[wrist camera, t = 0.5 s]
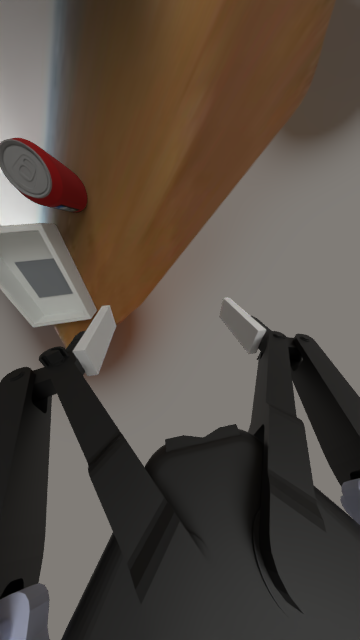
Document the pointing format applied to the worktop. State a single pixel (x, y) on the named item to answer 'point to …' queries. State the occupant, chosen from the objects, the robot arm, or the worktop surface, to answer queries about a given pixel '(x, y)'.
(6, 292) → the tray
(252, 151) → the worktop surface
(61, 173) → the beverage can
